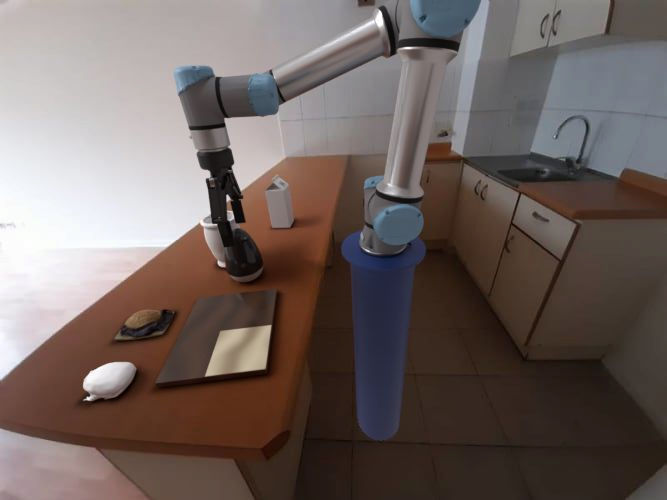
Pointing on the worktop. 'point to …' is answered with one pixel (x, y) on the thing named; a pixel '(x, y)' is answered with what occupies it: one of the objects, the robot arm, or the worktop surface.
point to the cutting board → (222, 339)
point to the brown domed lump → (145, 324)
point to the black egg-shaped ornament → (243, 257)
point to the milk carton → (279, 203)
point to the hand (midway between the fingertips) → (235, 233)
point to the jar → (216, 236)
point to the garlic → (109, 380)
